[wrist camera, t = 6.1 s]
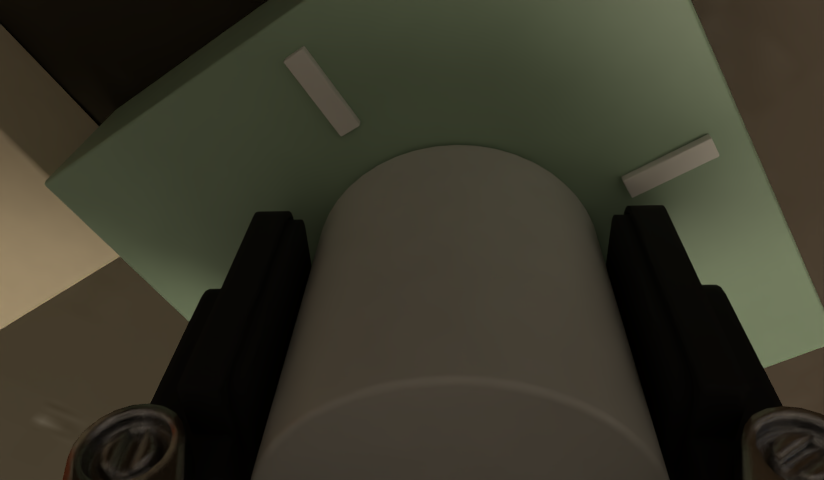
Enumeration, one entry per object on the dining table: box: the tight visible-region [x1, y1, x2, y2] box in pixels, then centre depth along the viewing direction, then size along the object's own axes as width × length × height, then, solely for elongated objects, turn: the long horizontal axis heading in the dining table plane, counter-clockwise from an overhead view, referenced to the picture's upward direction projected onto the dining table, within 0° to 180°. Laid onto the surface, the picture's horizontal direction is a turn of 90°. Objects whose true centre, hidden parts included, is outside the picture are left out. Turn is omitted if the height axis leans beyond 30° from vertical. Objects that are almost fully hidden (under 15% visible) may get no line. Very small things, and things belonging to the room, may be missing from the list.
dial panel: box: [45, 0, 824, 368], centre depth 13 cm, size 10×10×3 cm
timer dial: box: [251, 145, 670, 480], centre depth 10 cm, size 5×5×5 cm
